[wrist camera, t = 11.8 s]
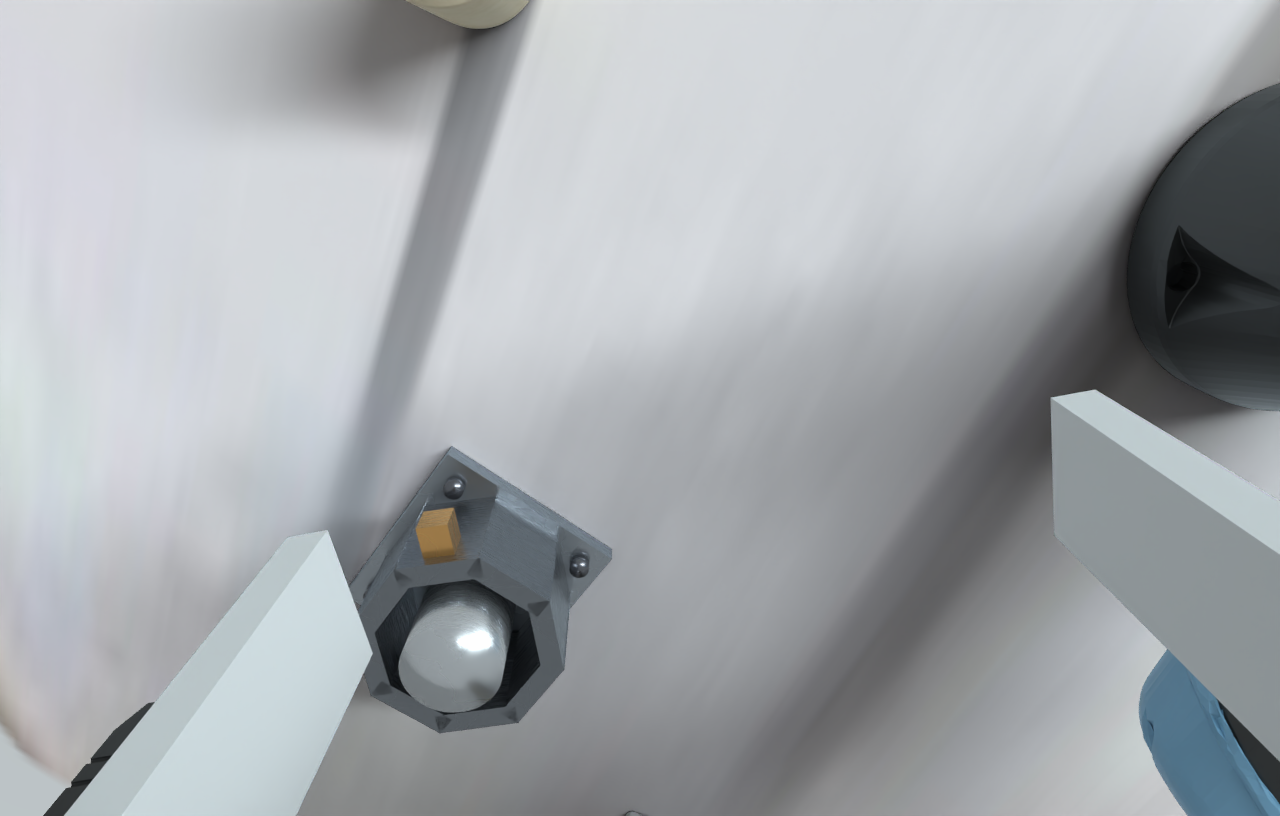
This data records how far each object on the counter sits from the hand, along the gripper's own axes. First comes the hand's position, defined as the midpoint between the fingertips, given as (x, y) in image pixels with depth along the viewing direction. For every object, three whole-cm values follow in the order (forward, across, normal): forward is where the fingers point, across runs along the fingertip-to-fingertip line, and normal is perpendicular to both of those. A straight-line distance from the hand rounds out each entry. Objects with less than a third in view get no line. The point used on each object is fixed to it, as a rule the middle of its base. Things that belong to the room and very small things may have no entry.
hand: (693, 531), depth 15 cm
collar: (+24, +12, +14) cm, 30 cm away
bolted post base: (+25, +12, +14) cm, 31 cm away
